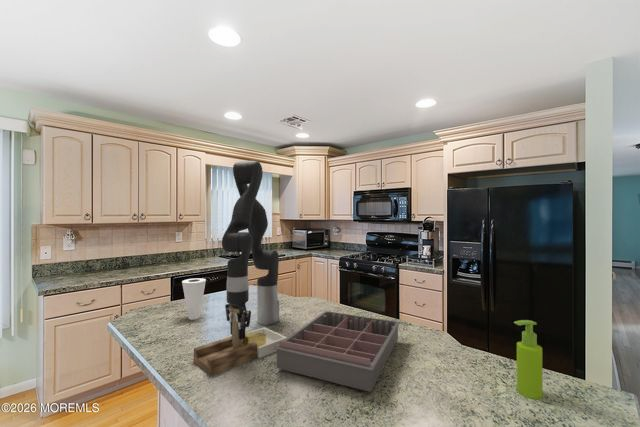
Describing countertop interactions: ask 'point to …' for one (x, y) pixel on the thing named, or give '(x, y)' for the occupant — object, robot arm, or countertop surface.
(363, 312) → the countertop surface
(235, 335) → the handle
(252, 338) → the chip
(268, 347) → the tray
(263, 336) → the golden brown cube
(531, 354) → the soap dispenser
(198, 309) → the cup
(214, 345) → the slot board
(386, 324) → the organizer tray
